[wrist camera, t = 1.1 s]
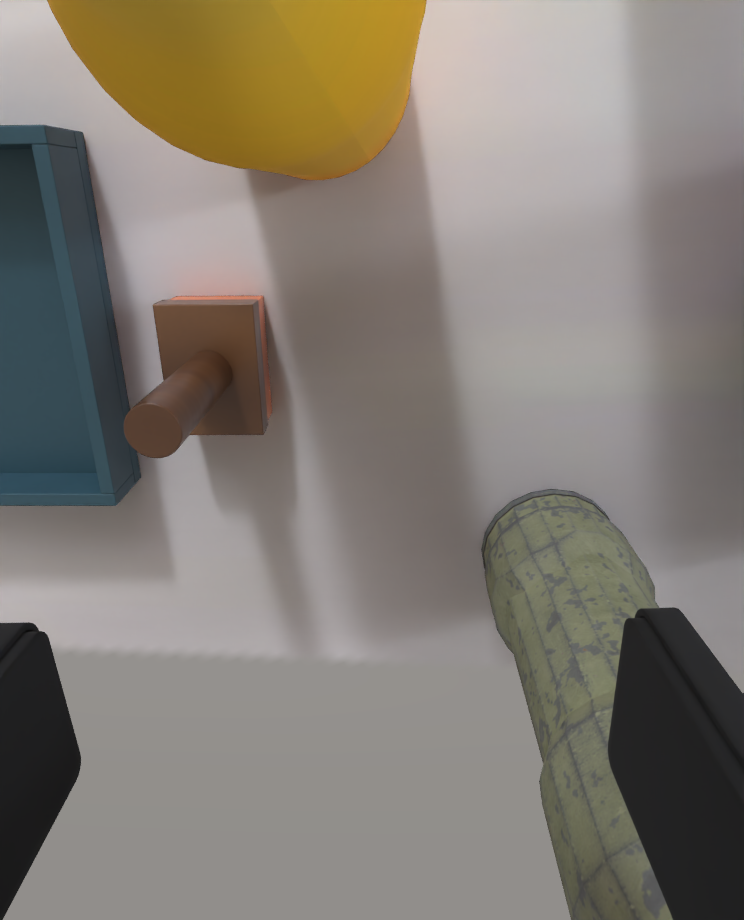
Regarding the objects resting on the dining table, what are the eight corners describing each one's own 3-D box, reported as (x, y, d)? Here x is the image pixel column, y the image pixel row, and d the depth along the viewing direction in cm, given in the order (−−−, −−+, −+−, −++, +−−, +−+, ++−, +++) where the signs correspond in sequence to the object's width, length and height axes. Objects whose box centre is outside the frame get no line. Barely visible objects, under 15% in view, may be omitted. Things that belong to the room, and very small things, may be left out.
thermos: (464, 614, 44) (677, 1788, 12) (498, 459, 39) (1004, 1697, 7) (590, 629, 44) (1138, 1818, 12) (638, 476, 39) (1754, 1751, 7)
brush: (173, 294, 36) (71, 343, 24) (264, 293, 36) (206, 343, 24) (189, 414, 39) (104, 510, 27) (274, 414, 38) (225, 510, 27)
